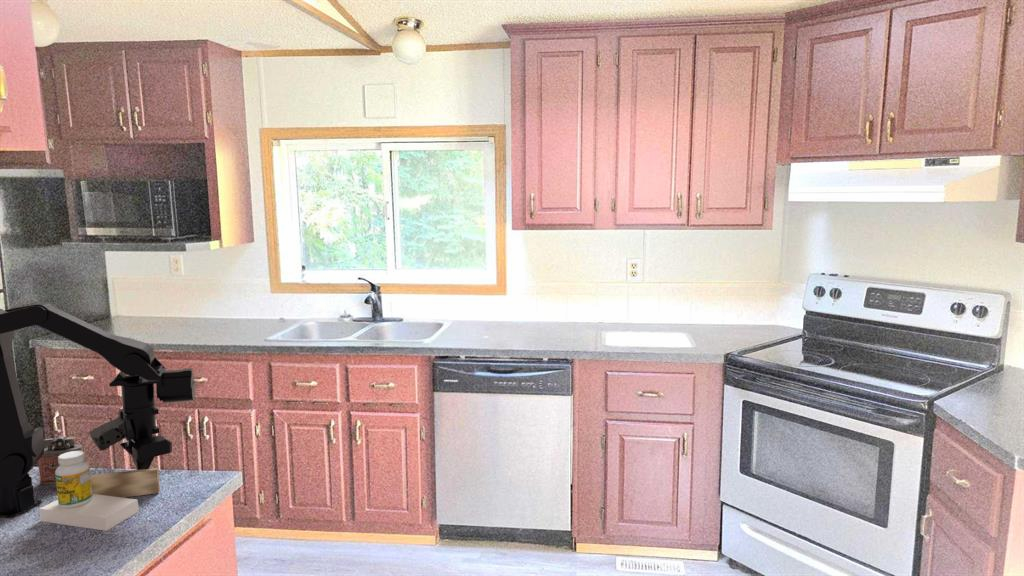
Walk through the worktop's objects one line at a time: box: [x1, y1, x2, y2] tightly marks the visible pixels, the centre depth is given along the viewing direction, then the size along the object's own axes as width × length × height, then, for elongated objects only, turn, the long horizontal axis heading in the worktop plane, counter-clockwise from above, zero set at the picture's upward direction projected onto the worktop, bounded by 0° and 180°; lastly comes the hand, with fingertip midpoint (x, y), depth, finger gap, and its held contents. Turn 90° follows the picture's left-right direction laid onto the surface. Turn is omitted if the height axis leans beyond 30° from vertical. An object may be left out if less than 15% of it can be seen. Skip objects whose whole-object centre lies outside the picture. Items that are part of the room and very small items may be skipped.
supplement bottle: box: [55, 450, 92, 508], centre depth 118 cm, size 5×5×10 cm
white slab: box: [39, 494, 140, 532], centre depth 119 cm, size 15×9×6 cm, turn 77°
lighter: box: [37, 435, 83, 488], centre depth 132 cm, size 8×3×10 cm, turn 111°
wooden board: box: [90, 467, 161, 498], centre depth 126 cm, size 13×1×5 cm, turn 109°
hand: (142, 476), depth 129 cm, fingers closed
